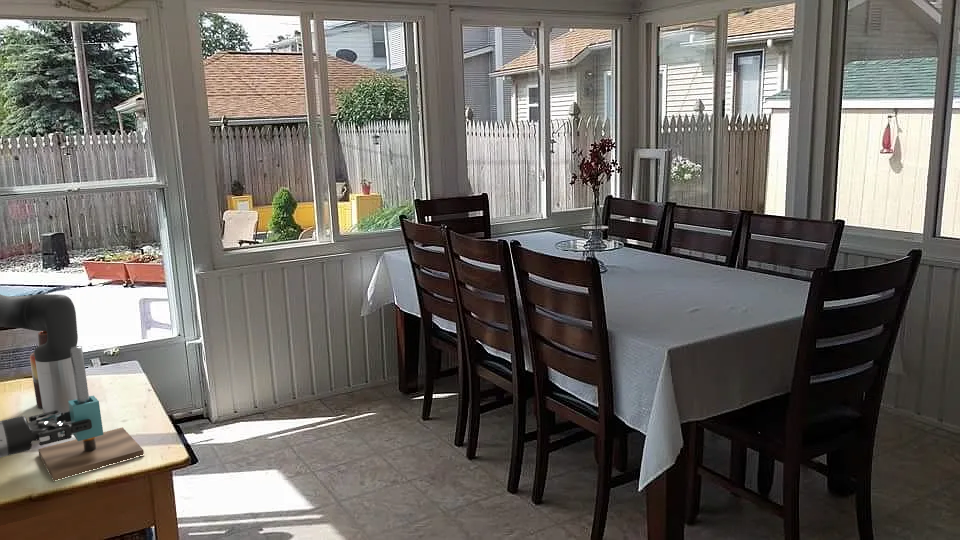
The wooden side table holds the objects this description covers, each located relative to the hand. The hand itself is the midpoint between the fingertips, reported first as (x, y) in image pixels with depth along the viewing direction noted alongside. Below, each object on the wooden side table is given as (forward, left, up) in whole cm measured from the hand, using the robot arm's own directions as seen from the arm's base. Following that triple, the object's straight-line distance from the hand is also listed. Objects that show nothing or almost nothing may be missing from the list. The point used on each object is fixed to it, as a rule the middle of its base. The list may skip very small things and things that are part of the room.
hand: (87, 418), depth 166 cm
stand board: (0, 0, -9) cm, 9 cm away
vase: (-45, -8, -9) cm, 47 cm away
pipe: (0, 0, -7) cm, 8 cm away
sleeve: (0, 0, -4) cm, 4 cm away
